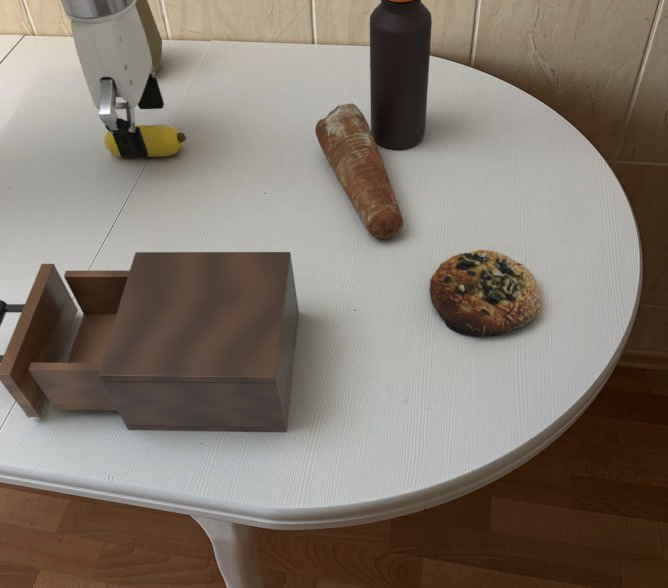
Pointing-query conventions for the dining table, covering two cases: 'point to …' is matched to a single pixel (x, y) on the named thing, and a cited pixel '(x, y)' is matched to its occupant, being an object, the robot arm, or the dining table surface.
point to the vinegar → (399, 72)
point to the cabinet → (204, 342)
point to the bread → (360, 169)
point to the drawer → (61, 340)
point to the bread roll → (484, 293)
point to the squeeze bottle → (150, 32)
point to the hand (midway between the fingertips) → (143, 131)
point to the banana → (153, 140)
